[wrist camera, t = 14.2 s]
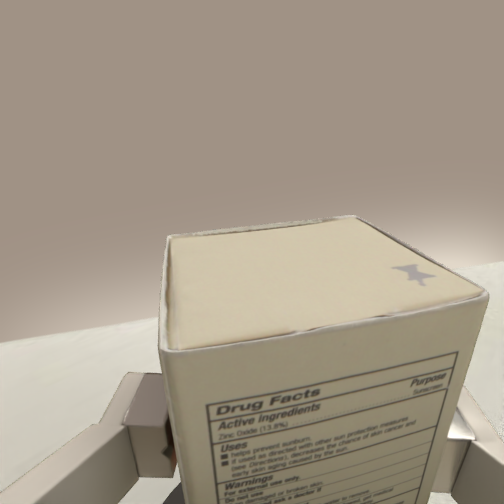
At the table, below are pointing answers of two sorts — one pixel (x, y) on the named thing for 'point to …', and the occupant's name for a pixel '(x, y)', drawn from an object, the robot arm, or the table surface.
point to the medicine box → (311, 362)
